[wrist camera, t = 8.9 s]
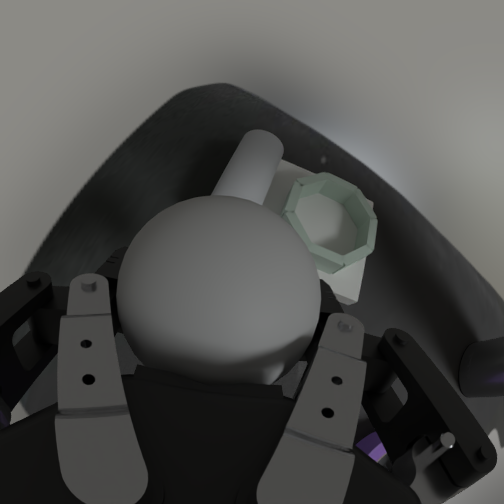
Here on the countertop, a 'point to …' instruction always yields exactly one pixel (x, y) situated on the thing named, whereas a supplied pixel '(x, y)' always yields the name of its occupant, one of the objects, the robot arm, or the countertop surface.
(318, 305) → the lightbulb
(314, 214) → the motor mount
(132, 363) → the countertop surface
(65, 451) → the robot arm
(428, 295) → the countertop surface
